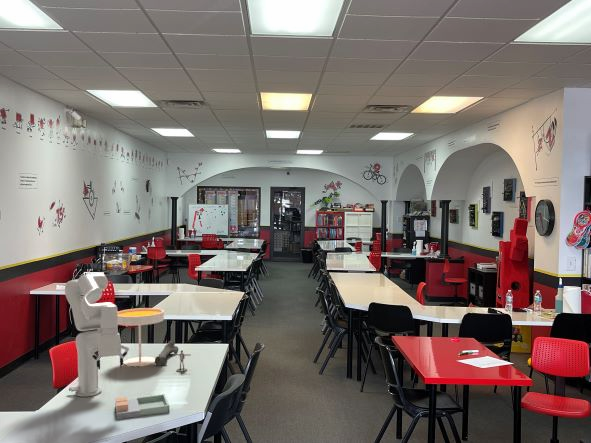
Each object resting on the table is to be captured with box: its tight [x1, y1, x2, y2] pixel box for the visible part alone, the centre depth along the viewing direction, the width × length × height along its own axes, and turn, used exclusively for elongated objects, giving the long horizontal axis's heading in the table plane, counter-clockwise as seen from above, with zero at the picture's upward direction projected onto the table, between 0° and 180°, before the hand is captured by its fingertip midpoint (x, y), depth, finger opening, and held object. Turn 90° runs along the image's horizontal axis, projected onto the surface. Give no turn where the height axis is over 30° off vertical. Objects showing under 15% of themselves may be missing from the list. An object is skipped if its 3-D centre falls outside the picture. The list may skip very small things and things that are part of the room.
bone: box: [154, 340, 179, 367], centre depth 338 cm, size 32×10×9 cm, turn 0°
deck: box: [114, 398, 141, 420], centre depth 248 cm, size 10×17×2 cm, turn 21°
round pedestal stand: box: [117, 307, 165, 368], centre depth 332 cm, size 30×30×31 cm
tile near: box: [115, 401, 128, 411], centre depth 245 cm, size 5×5×2 cm
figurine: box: [172, 349, 191, 373], centre depth 313 cm, size 11×7×12 cm, turn 81°
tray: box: [136, 393, 170, 417], centre depth 253 cm, size 13×17×3 cm
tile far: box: [115, 396, 128, 402], centre depth 250 cm, size 5×5×2 cm
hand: (110, 367), depth 251 cm, fingers open, 9 cm apart
